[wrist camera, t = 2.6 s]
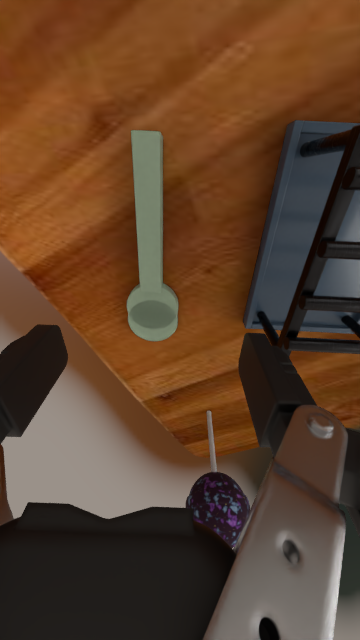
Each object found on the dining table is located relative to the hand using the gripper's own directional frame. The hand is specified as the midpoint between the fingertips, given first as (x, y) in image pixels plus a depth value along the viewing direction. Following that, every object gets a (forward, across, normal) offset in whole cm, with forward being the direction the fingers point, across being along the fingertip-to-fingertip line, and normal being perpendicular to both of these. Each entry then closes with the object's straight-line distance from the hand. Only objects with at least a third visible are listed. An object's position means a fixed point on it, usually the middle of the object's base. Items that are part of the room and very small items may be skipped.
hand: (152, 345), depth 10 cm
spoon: (+14, +2, 0) cm, 14 cm away
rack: (+14, -14, -1) cm, 20 cm away
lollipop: (+14, -6, +24) cm, 28 cm away
